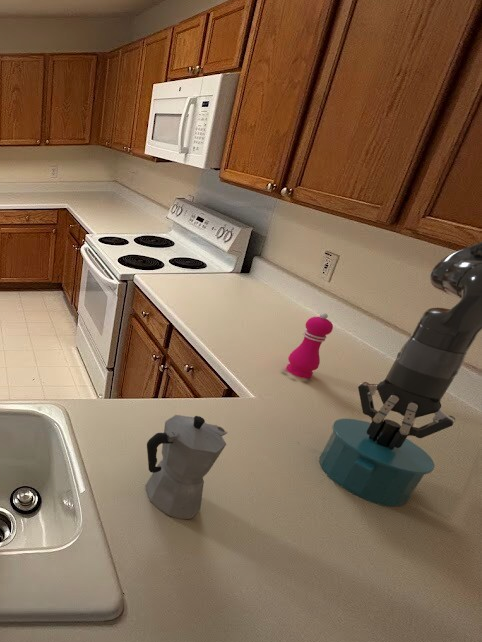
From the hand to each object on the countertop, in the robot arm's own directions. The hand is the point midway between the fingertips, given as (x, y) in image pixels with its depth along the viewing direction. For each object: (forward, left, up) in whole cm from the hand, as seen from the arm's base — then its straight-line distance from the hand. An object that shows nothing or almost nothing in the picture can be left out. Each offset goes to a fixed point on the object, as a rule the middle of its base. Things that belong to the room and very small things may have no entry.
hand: (381, 441), depth 80 cm
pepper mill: (+24, -38, -10) cm, 46 cm away
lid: (0, 0, -1) cm, 1 cm away
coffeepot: (+18, +41, -10) cm, 46 cm away
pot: (0, 0, -9) cm, 9 cm away
